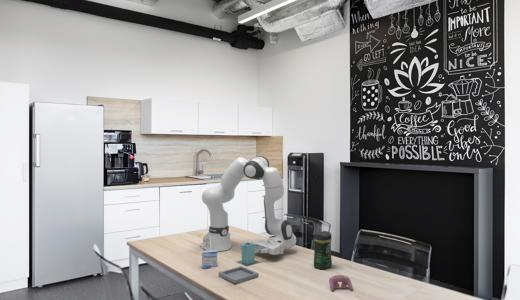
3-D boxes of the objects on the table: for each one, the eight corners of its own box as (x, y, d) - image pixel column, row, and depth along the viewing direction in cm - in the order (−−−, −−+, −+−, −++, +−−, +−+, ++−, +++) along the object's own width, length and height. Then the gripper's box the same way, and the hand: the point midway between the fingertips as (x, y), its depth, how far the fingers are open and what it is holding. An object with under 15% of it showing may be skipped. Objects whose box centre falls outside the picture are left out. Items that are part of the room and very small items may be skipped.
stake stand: (235, 263, 197) (235, 253, 197) (249, 259, 204) (249, 250, 204) (246, 267, 190) (246, 258, 190) (261, 263, 196) (260, 254, 196)
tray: (218, 276, 178) (218, 272, 178) (241, 269, 186) (241, 266, 186) (235, 284, 167) (235, 280, 167) (258, 277, 176) (258, 273, 176)
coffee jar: (324, 271, 183) (323, 234, 183) (311, 267, 189) (310, 232, 188) (334, 266, 190) (334, 231, 190) (321, 263, 196) (321, 229, 195)
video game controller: (351, 291, 161) (348, 275, 164) (353, 290, 157) (351, 273, 160) (329, 292, 161) (327, 275, 164) (331, 291, 156) (329, 274, 160)
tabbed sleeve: (239, 262, 196) (239, 244, 196) (249, 260, 200) (248, 242, 200) (245, 264, 192) (244, 246, 192) (254, 262, 196) (254, 244, 196)
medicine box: (202, 269, 188) (202, 252, 188) (201, 266, 193) (201, 250, 193) (217, 267, 191) (217, 251, 190) (216, 264, 195) (216, 249, 195)
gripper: (261, 236, 217) (243, 240, 208) (285, 243, 201) (266, 247, 192) (261, 246, 217) (243, 251, 208) (285, 254, 201) (266, 259, 192)
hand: (254, 249), depth 200 cm, fingers open, 8 cm apart
